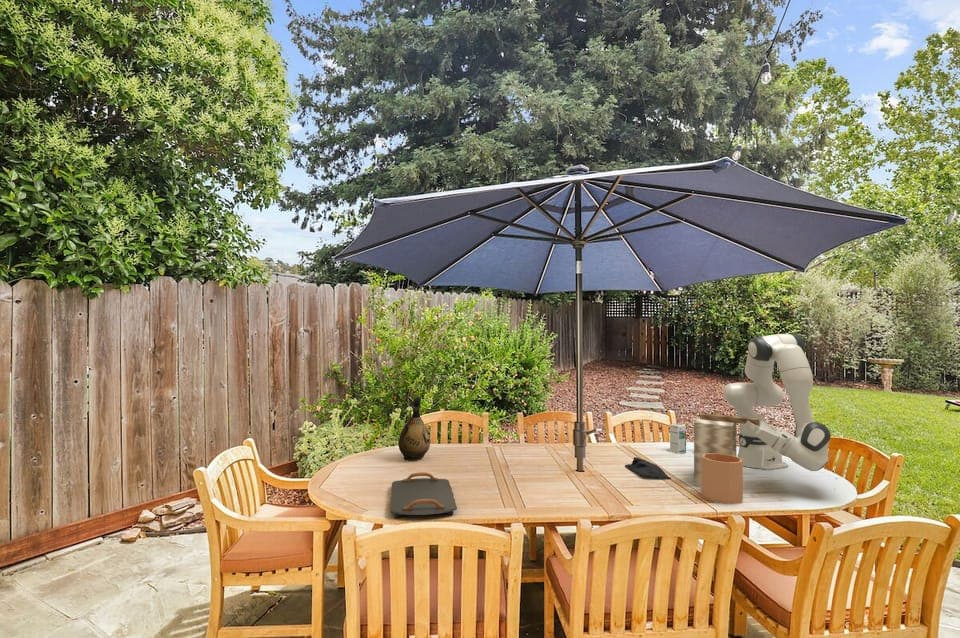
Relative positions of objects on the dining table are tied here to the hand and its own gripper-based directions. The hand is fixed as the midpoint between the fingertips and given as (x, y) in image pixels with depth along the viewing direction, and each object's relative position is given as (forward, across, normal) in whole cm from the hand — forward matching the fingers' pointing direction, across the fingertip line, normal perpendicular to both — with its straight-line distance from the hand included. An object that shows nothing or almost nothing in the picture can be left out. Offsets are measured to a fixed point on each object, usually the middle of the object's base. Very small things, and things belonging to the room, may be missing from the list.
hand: (746, 420), depth 203 cm
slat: (+5, 0, +4) cm, 7 cm away
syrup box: (+16, -44, +41) cm, 62 cm away
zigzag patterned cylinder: (-4, 0, +29) cm, 30 cm away
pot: (-7, +20, +27) cm, 34 cm away
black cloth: (+20, +2, +44) cm, 48 cm away
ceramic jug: (+108, +42, +94) cm, 150 cm away
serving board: (+74, +86, +75) cm, 136 cm away
